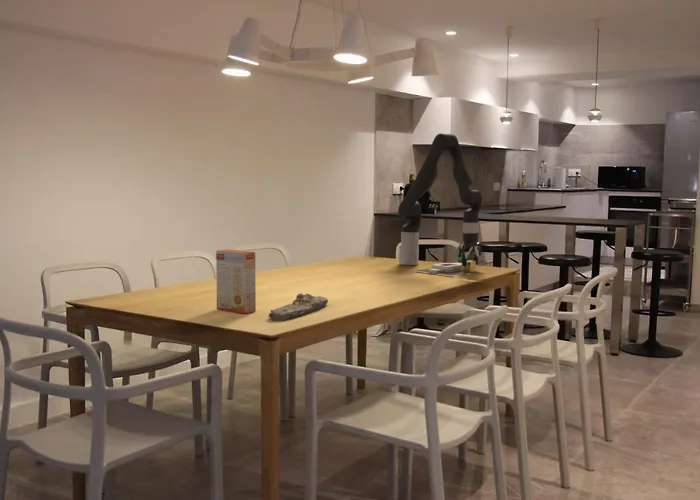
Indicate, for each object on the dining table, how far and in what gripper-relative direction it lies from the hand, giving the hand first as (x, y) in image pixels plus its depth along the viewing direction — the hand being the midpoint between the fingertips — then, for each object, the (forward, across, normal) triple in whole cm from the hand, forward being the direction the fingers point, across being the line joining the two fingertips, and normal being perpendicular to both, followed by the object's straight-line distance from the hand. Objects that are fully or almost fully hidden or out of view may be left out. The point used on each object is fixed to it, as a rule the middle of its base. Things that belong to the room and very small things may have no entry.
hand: (470, 265), depth 348 cm
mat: (+4, +7, -8) cm, 12 cm away
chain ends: (+4, +7, -8) cm, 12 cm away
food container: (+4, -17, -18) cm, 25 cm away
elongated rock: (+5, +122, +22) cm, 124 cm away
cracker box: (+4, +138, +7) cm, 138 cm away
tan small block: (+3, 0, 0) cm, 3 cm away
